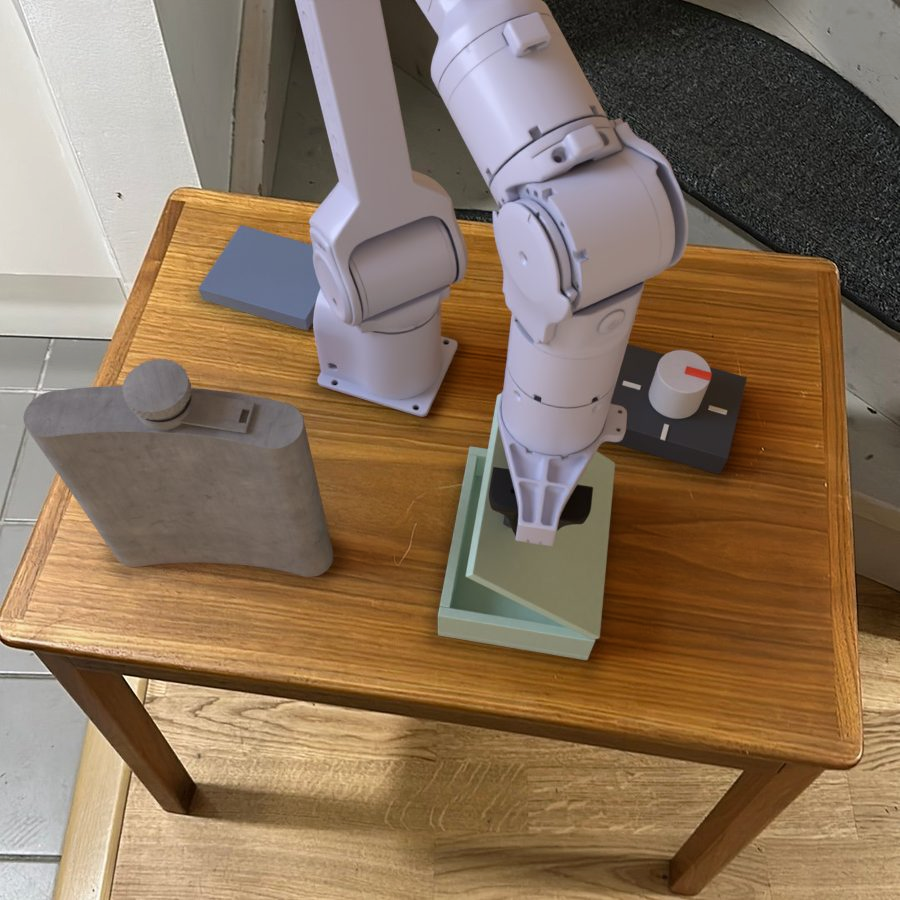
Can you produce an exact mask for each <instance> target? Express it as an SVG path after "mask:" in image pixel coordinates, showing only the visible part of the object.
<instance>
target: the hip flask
mask: <svg viewBox="0 0 900 900" xmlns="http://www.w3.org/2000/svg"><path fill="white" fill-rule="evenodd" d="M22 418H23V425H24V427H25V428H26V430H27V432H29V435H30V436H31V437H32V439H33V440H34V442H35V443H36V444H37V446H38V447H39V449H40V450H41V452H42V453H43V454H44V456H45V457H46V459H47V460H48V462H49V463H50V465H51V466H52V468H53V469H54V470H55V472H56V473H57V475H58V476H59V477H60V480H61V481H62V482H63V483H64V485H65V486H66V488H67V489H68V490H69V491H70V493H71V495H72V496H73V498H74V499H75V501H76V502H77V503H78V505H79V506H80V508H81V509H82V510H83V512H84V513H85V515H86V516H87V518H88V519H89V521H90V522H91V524H92V525H93V527H94V528H95V529H96V530H97V532H98V533H99V535H100V537H101V538H102V539H103V541H104V542H105V544H106V545H107V546H108V548H109V550H110V551H111V553H112V554H113V555H114V556H115V558H116V560H117V561H118V562H119V563H120V564H122V565H123V566H125V567H128V568H140V567H141V568H142V567H148V566H155V565H156V566H158V565H166V564H167V565H169V564H192V563H193V564H194V563H195V564H197V563H199V564H221V565H222V564H223V565H237V566H250V567H256V568H262V569H263V568H264V569H270V570H276V571H281V572H286V573H289V574H293V575H298V576H302V577H305V578H314V577H318V576H321V575H323V574H324V573H326V572H327V571H328V570H329V569H330V567H332V564H333V562H334V556H335V554H334V549H333V544H332V540H331V536H330V531H329V527H328V522H327V518H326V513H325V509H324V504H323V500H322V495H321V492H320V486H319V482H318V477H317V473H316V468H315V464H314V459H313V457H312V456H313V455H312V451H311V448H310V447H311V445H310V441H309V436H308V432H307V429H306V424H305V423H306V422H305V420H304V416H303V414H302V413H301V411H300V410H299V409H298V408H297V407H296V406H294V405H292V404H290V403H287V402H284V401H279V400H275V399H271V398H266V397H261V396H257V395H252V394H245V393H238V392H232V391H223V390H216V389H207V388H198V387H197V388H195V387H192V383H191V380H190V378H189V377H188V373H187V372H186V369H185V368H184V367H183V366H182V365H180V364H179V363H178V362H176V361H173V360H170V359H169V360H168V359H166V358H165V359H163V358H157V359H151V360H146V361H145V362H141V363H139V364H138V365H137V366H135V367H134V368H133V369H131V370H130V371H129V373H128V374H127V375H126V376H125V379H124V380H123V383H122V385H108V386H106V385H105V386H89V387H77V388H67V389H57V390H51V391H47V392H43V393H42V394H40V395H38V396H36V397H35V398H34V399H32V400H31V402H29V403H28V405H27V406H26V408H25V409H24V412H23V417H22Z"/></svg>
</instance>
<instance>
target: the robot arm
mask: <svg viewBox="0 0 900 900" xmlns="http://www.w3.org/2000/svg"><path fill="white" fill-rule="evenodd" d="M294 2H295V6H296V10H297V14H298V19H299V23H300V27H301V31H302V35H303V40H304V43H305V47H306V51H307V55H308V59H309V64H310V67H311V72H312V76H313V81H314V84H315V88H316V93H317V97H318V101H319V104H320V109H321V113H322V118H323V122H324V125H325V129H326V133H327V137H328V141H329V145H330V146H329V147H330V150H331V154H332V158H333V162H334V166H335V170H336V174H337V179H338V182H337V183H336V185H335V186H334V187H333V188H332V190H331V191H330V192H329V194H327V196H326V197H325V198H324V200H323V201H322V202H321V203H320V204H319V206H318V207H317V208H316V209H315V210H314V212H313V214H312V215H311V216H310V217H309V220H308V224H309V227H310V228H309V235H310V241H311V245H312V246H313V264H314V269H315V273H316V276H317V279H318V282H319V285H320V287H321V288H320V291H319V293H318V296H317V300H316V304H315V309H314V317H313V322H312V325H313V326H312V329H313V335H314V341H315V346H316V352H317V357H318V362H319V369H320V373H319V374H318V376H317V384H318V385H319V386H320V387H322V388H325V389H329V390H331V391H334V392H338V393H342V394H344V395H348V396H351V397H354V398H358V399H362V400H364V401H367V402H371V403H374V404H378V405H381V406H384V407H387V408H390V409H394V410H397V411H400V412H404V413H406V414H410V415H413V416H417V417H421V418H422V417H423V418H424V417H426V416H428V414H429V412H430V410H431V409H432V405H433V403H434V401H435V399H436V397H437V395H438V393H439V390H440V388H441V385H442V383H443V381H444V379H445V376H446V374H447V372H448V369H449V368H450V365H451V363H452V361H453V358H454V357H455V355H456V352H457V350H458V347H459V346H458V345H459V344H458V341H457V340H455V339H454V338H449V337H445V336H443V335H442V303H443V302H444V301H446V299H448V298H450V297H451V285H456V284H458V283H461V282H462V281H463V280H464V279H465V277H466V273H467V269H468V265H469V252H468V247H467V244H466V240H465V237H464V234H463V231H462V229H461V227H460V224H459V223H458V219H457V217H456V212H455V209H454V203H453V200H452V198H451V196H450V195H449V193H448V192H447V190H445V188H444V187H443V186H442V185H441V184H440V183H439V182H437V181H436V180H435V179H434V178H433V177H431V176H428V175H426V174H424V173H421V172H419V171H416V170H413V169H412V164H411V159H410V158H411V157H410V154H409V153H410V152H409V149H408V148H409V147H408V143H407V138H406V132H405V126H404V121H403V116H402V111H401V105H400V100H399V94H398V88H397V84H396V78H395V73H394V68H393V67H394V66H393V61H392V58H391V57H392V56H391V51H390V45H389V40H388V35H387V29H386V25H385V19H384V14H383V8H382V2H381V0H294ZM415 2H416V4H417V6H418V7H419V8H420V10H421V12H422V13H423V14H424V17H425V18H426V20H427V21H428V22H429V24H430V26H431V27H432V29H433V30H434V32H435V33H436V35H437V36H438V39H437V44H436V47H435V50H434V52H433V56H432V59H431V64H430V77H431V81H432V82H433V84H434V86H435V88H436V90H437V92H438V94H439V96H440V97H441V99H442V101H443V103H444V105H445V107H446V109H447V111H448V113H449V115H450V116H451V119H452V120H453V122H454V124H455V126H456V128H457V130H458V132H459V134H460V136H461V138H462V140H463V142H464V143H465V145H466V148H467V150H468V151H469V153H470V155H471V157H472V159H473V161H474V162H475V164H476V167H477V168H478V171H479V172H480V174H481V176H482V178H483V180H484V182H485V184H486V186H487V187H488V188H487V189H488V190H489V191H490V194H491V195H492V197H493V199H494V201H495V203H496V205H497V208H498V209H499V210H498V211H497V210H493V211H492V229H493V237H494V240H495V245H496V250H497V253H498V256H499V260H500V263H501V267H502V276H503V279H502V280H503V281H502V290H501V291H502V293H503V295H504V302H505V305H506V308H508V310H509V311H510V312H511V318H510V326H509V335H508V344H507V352H506V364H505V370H504V380H503V387H502V388H503V389H502V392H500V394H501V395H500V399H499V402H498V410H497V421H498V426H499V430H500V434H501V438H502V442H503V446H504V450H505V454H506V458H507V462H508V466H509V469H504V468H498V467H493V471H492V477H491V483H490V489H489V502H490V506H491V509H492V510H494V511H496V512H499V513H501V514H503V515H505V516H506V517H507V518H508V520H509V523H510V525H511V528H512V530H513V533H514V534H515V536H516V541H521V542H528V543H532V544H538V545H546V546H553V545H554V541H555V537H556V533H557V531H558V530H559V529H560V528H562V527H564V526H567V525H574V524H583V523H584V522H585V521H586V519H587V518H588V516H589V514H590V511H591V504H592V495H593V487H590V486H584V485H578V482H579V480H580V479H581V477H582V475H583V474H584V472H585V470H586V468H587V467H588V465H589V463H590V461H591V460H592V458H593V456H594V455H595V453H596V451H597V452H598V450H599V447H600V446H601V445H602V444H603V443H606V442H608V441H609V443H612V442H619V441H621V440H622V439H623V437H624V434H625V431H626V422H627V411H626V409H625V408H624V407H622V406H620V405H614V404H611V399H612V396H613V392H614V388H615V385H616V382H617V378H618V375H619V371H620V368H621V364H622V361H623V357H624V354H625V350H626V347H627V344H629V340H630V336H631V333H632V328H633V327H634V322H635V319H636V315H637V312H638V310H639V309H638V308H639V306H640V302H641V299H642V294H643V291H644V288H645V284H646V281H647V280H650V279H651V278H655V277H656V276H659V275H660V274H661V273H663V272H664V271H665V270H666V269H669V268H672V267H673V266H675V265H677V264H678V263H679V261H681V259H682V258H683V256H684V254H685V251H686V249H687V245H688V240H689V217H688V210H687V205H686V201H685V198H684V194H683V192H682V189H681V187H680V184H679V182H678V180H677V178H676V176H675V173H674V171H673V168H672V165H671V163H670V162H669V160H668V159H667V158H666V157H665V156H664V154H663V153H662V152H661V151H660V150H659V149H658V148H656V147H655V146H654V145H653V144H651V143H650V142H648V141H646V140H644V139H642V138H640V137H638V136H637V135H636V134H635V133H634V132H633V130H632V129H631V127H630V125H629V123H628V122H627V121H623V118H621V117H619V118H616V119H609V118H608V116H607V114H606V112H605V111H604V109H603V107H602V105H601V103H600V101H599V99H598V97H597V96H596V93H595V92H594V90H593V87H592V86H591V85H590V83H589V81H588V79H587V76H586V75H585V73H584V71H583V69H582V68H581V66H580V64H579V62H578V60H577V58H576V56H575V55H574V53H573V51H572V49H571V47H570V46H569V43H568V42H567V40H566V37H565V36H564V34H563V32H562V30H561V29H560V27H559V24H558V22H557V21H556V19H555V17H554V16H553V13H552V12H551V10H550V8H549V6H548V4H547V3H546V2H545V1H544V0H415ZM446 343H447V344H446ZM335 384H336V385H335ZM415 408H417V409H415Z"/></svg>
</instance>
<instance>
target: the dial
mask: <svg viewBox="0 0 900 900" xmlns="http://www.w3.org/2000/svg"><path fill="white" fill-rule="evenodd" d="M664 354H665V355H664V356H663V357H662V358H661V359H660V361H659V363H658V365H657V368H656V371H655V374H654V377H653V380H652V383H651V386H650V389H649V400H650V403H651V405H652V406H653V407H654V409H655V410H656V411H657V412H659V413H660V414H662V415H664V416H666V417H669V418H674V419H681V418H686V417H689V416H691V415H692V414H694V413H695V412H696V411H697V410H698V408H699V406H700V404H701V401H702V399H703V397H704V394H705V392H706V390H707V387H708V385H709V383H710V380H711V376H712V373H711V370H710V367H711V366H710V365H709V363H708V362H707V360H706V359H704V357H702V356H701V355H699V354H697V353H695V352H693V351H691V350H685V349H676V350H672V351H669V352H666V353H664Z"/></svg>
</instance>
